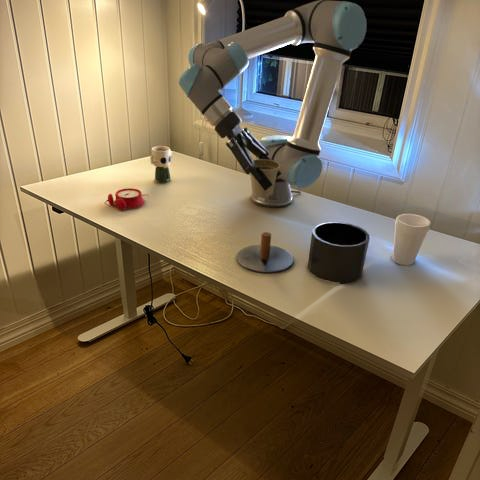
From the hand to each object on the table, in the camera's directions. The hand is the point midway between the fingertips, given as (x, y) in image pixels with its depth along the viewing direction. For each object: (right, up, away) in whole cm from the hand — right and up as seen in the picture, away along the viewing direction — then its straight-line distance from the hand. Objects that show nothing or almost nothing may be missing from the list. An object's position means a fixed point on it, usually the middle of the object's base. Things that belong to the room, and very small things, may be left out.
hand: (273, 181), depth 141 cm
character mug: (-41, +15, +54) cm, 69 cm away
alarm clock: (-51, +1, +33) cm, 60 cm away
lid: (-3, -22, +2) cm, 23 cm away
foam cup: (+40, -22, +6) cm, 46 cm away
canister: (+18, -26, -1) cm, 31 cm away
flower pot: (-3, -3, +3) cm, 5 cm away
